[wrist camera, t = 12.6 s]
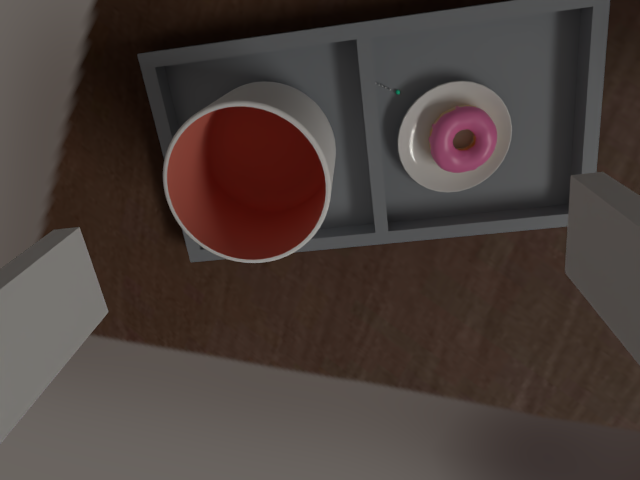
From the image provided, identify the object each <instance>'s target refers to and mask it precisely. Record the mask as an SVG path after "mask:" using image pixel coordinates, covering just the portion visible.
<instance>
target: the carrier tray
mask: <svg viewBox="0 0 640 480" xmlns="http://www.w3.org/2000/svg"><path fill="white" fill-rule="evenodd" d="M609 8H610V0H508V1H501V2H494V3H487V4H480V5H473V6H466V7H459V8H452V9H445V10H438V11H431V12H424V13H417V14H410V15H403V16H396V17H389V18H382V19H375V20H368V21H361V22H354V23H347V24H340V25H333V26H326V27H319V28H312V29H305V30H298V31H291V32H284V33H277V34H270V35H263V36H256V37H249V38H242V39H235V40H228V41H221V42H214V43H207V44H200V45H193V46H186V47H179V48H172V49H165V50H158V51H151V52H146V53H141V54H137V56H138V60H139V64H140V67H141V71H142V75H143V79H144V83H145V87H146V91H147V95H148V98H149V102H150V106H151V110H152V114H153V118H154V122H155V126H156V130H157V133H158V137H159V141H160V145H161V149H162V153H163V157H164V160H165V156H166V152H167V150H168V147H169V144H170V142H171V141H172V139H173V137H174V135H175V134H176V132H177V131H178V130H179V128H180V127H181V126H182V125H183V124H184V123H185V122H186V121H187V120H188V119H189V118H190V117H192V116H193V115H194V114H196V113H197V112H199V111H200V110H202V109H204V108H205V107H207V106H208V105H210V104H211V103H213V102H214V101H216V100H217V99H219V98H221V97H222V96H224V95H225V94H227V93H228V92H230V91H232V90H233V89H235V88H237V87H240V86H242V85H245V84H249V83H253V82H262V81H263V82H276V83H281V84H285V85H288V86H291V87H293V88H295V89H297V90H299V91H301V92H303V93H304V94H306V95H307V96H308V97H309V98H311V99H312V100H313V101H314V102H315V103H316V104H317V105H318V106H319V107H320V109H321V110H322V111H323V113H324V114H325V116H326V117H327V119H328V121H329V123H330V126H331V128H332V131H333V134H334V139H335V145H336V158H335V167H334V174H333V182H332V190H331V198H330V203H329V208H328V211H327V214H326V216H325V219H324V221H323V223H322V225H321V226H320V228H319V229H318V231H317V232H316V234H315V235H314V236H313V237H312V238H311V239H310V240H309V241H308V242H307V243H306V244H305V245H304V246H303V247H301V248H300V249H298V250H297V251H295V252H304V251H314V250H325V249H335V248H346V247H356V246H366V245H377V244H387V243H398V242H408V241H419V240H429V239H440V238H450V237H461V236H471V235H482V234H492V233H502V232H513V231H523V230H534V229H544V228H555V227H565V226H568V212H569V196H570V179H571V175H577V174H587V173H596V170H597V158H598V145H599V133H600V120H601V108H602V95H603V83H604V70H605V58H606V45H607V33H608V21H609ZM453 81H470V82H475V83H478V84H481V85H484V86H486V87H488V88H489V89H491V90H493V91H494V92H495V93H496V94H497V95H498V96H499V97H500V98H501V99H502V101H503V102H504V104H505V105H506V107H507V109H508V112H509V115H510V117H511V124H512V136H511V142H510V146H509V149H508V152H507V154H506V156H505V158H504V160H503V162H502V163H501V164H500V166H499V167H498V168H497V170H496V171H495V172H494V173H493V174H492V175H491V176H490V177H488V178H487V179H486V180H484V181H483V182H481V183H480V184H478V185H476V186H474V187H472V188H470V189H466V190H462V191H459V192H437V191H434V190H430V189H427V188H425V187H423V186H422V185H420V184H418V183H417V182H416V181H414V180H413V179H412V178H411V177H410V176H409V174H408V173H407V172H406V171H405V169H404V167H403V165H402V163H401V161H400V157H399V153H398V134H399V128H400V126H401V123H402V120H403V118H404V116H405V114H406V113H407V111H408V109H409V108H410V107H411V106H412V104H413V103H414V102H415V101H416V100H417V99H418V98H419V97H420V96H422V95H423V94H424V93H425V92H427V91H428V90H430V89H432V88H434V87H436V86H438V85H441V84H444V83H448V82H453ZM375 82H376V83H375ZM379 84H380V85H379ZM382 85H383V87H382ZM385 87H386V88H385ZM389 88H390V89H391V90H389ZM396 90H400V94H396ZM182 231H183V234H184V238H185V242H186V246H187V250H188V254H189V258H190V262H199V261H210V260H220V259H226V258H223V257H220V256H218V255H215V254H213V253H211V252H210V251H208V250H206V249H204V248H203V247H202V246H200V245H199V244H198V243H196V242H195V241H194V240H193V239H191V238H190V237H189V236H188V235H187V234H186V233H185V231H184V230H183V229H182Z"/></svg>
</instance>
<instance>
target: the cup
mask: <svg viewBox="0 0 640 480" xmlns="http://www.w3.org/2000/svg"><path fill="white" fill-rule="evenodd" d="M335 158H336V145H335V139H334V134H333V131H332V128H331V126H330V123H329V121H328V119H327V117H326V116H325V114H324V113H323V111H322V110H321V109H320V107H319V106H318V105H317V104H316V103H315V102H314V101H313V100H312V99H311V98H309V97H308V96H307V95H306V94H304V93H303V92H301V91H299V90H297V89H295V88H293V87H291V86H288V85H285V84H281V83H276V82H263V81H262V82H253V83H249V84H245V85H242V86H240V87H237V88H235V89H233V90H232V91H230V92H228V93H227V94H225V95H224V96H222V97H221V98H219V99H217V100H216V101H214V102H213V103H211V104H210V105H208V106H207V107H205V108H204V109H202V110H200V111H199V112H197V113H196V114H194V115H193V116H192V117H190V118H189V119H188V120H187V121H186V122H185V123H184V124H183V125H182V126H181V127H180V128H179V130H178V131H177V132H176V134H175V135H174V137H173V139H172V141H171V142H170V144H169V147H168V150H167V152H166V156H165V160H164V166H163V185H164V191H165V196H166V199H167V202H168V205H169V208H170V210H171V212H172V214H173V216H174V217H175V219H176V221H177V222H178V224H179V225H180V226H181V228H182V229H183V230H184V231H185V233H186V234H187V235H188V236H189V237H190V238H191V239H193V240H194V241H195V242H196V243H198V244H199V245H200V246H202V247H203V248H204V249H206V250H208V251H210V252H211V253H213V254H215V255H218V256H220V257H223V258H226V259H229V260H233V261H237V262H244V263H262V262H269V261H274V260H277V259H280V258H283V257H285V256H288V255H290V254H292V253H294V252H295V251H297V250H298V249H300V248H301V247H303V246H304V245H305V244H306V243H307V242H308V241H309V240H310V239H311V238H312V237H313V236H314V235H315V234H316V232H317V231H318V229H319V228H320V226H321V225H322V223H323V221H324V219H325V216H326V214H327V211H328V208H329V203H330V198H331V190H332V182H333V174H334V167H335Z"/></svg>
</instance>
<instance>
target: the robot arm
mask: <svg viewBox="0 0 640 480" xmlns="http://www.w3.org/2000/svg"><path fill="white" fill-rule="evenodd" d="M565 273H566V275H567V276H568V277H569V278H570V280H571V281H572V282H573V283H574V284H575V286H576V287H577V288H578V289H579V291H580V292H581V293H582V294H583V296H584V297H585V298H586V299H587V301H588V302H589V303H590V304H591V306H592V307H593V308H594V309H595V311H596V312H597V313H598V314H599V316H600V317H601V318H602V319H603V321H604V322H605V323H606V324H607V325H608V327H609V328H610V329H611V330H612V332H613V333H614V334H615V335H616V337H617V338H618V339H619V340H620V342H621V343H622V344H623V345H624V347H625V348H626V349H627V350H628V352H629V353H630V354H631V355H632V357H633V358H634V359H635V360H636V362H637V363H638V364H639V365H640V196H639V195H638V194H636V193H635V192H633V191H632V190H630V189H629V188H627V187H625V186H624V185H622V184H621V183H619V182H618V181H616V180H615V179H613V178H612V177H610V176H608V175H607V174H605V173H604V172H596V173H587V174H577V175H571V179H570V196H569V212H568V229H567V245H566V262H565ZM107 313H108V309H107V306H106V303H105V300H104V297H103V295H102V292H101V289H100V286H99V283H98V280H97V277H96V274H95V271H94V268H93V265H92V262H91V259H90V256H89V254H88V251H87V248H86V245H85V242H84V239H83V236H82V233H81V230H80V227H76V228H67V229H57V230H53V231H52V232H50V233H49V234H47V235H46V236H45V237H43V238H42V239H41V240H39V241H38V242H36V243H35V244H34V245H32V246H31V247H30V248H28V249H27V250H25V251H24V252H23V253H21V254H20V255H19V256H18V257H16V258H15V259H13V260H12V261H10V262H9V263H8V264H6V265H5V266H4V267H2V268H1V269H0V444H1V443H2V441H3V440H4V439H5V438H6V436H7V435H8V434H9V433H10V432H11V430H12V429H13V428H14V427H15V425H16V424H17V423H18V422H19V421H20V419H21V418H22V417H23V416H24V414H25V413H26V412H27V411H28V410H29V408H30V407H31V406H32V405H33V403H34V402H35V401H36V400H37V399H38V397H39V396H40V395H41V394H42V392H43V391H44V390H45V389H46V388H47V386H48V385H49V384H50V382H51V381H52V380H53V379H54V378H55V376H56V375H57V374H58V373H59V372H60V370H61V369H62V368H63V367H64V366H65V364H66V363H67V362H68V361H69V359H70V358H71V357H72V356H73V355H74V353H75V352H76V351H77V350H78V348H79V347H80V346H81V345H82V344H83V342H84V341H85V340H86V339H87V337H88V336H89V335H90V334H91V333H92V331H93V330H94V329H95V328H96V326H97V325H98V324H99V323H100V322H101V320H102V319H103V318H104V317H105V315H106V314H107Z"/></svg>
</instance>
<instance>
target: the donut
mask: <svg viewBox="0 0 640 480" xmlns="http://www.w3.org/2000/svg"><path fill="white" fill-rule="evenodd" d="M375 83H376V82H375ZM379 85H380V84H379ZM382 87H383V85H382ZM385 88H386V87H385ZM389 90H391V89H390V88H389ZM396 94H400V90H396ZM511 136H512V124H511V117H510V115H509V112H508V109H507V107H506V105H505V104H504V102H503V101H502V99H501V98H500V97H499V96H498V95H497V94H496V93H495V92H494V91H493V90H491V89H489V88H488V87H486V86H484V85H481V84H478V83H475V82H470V81H453V82H448V83H444V84H441V85H438V86H436V87H434V88H432V89H430V90H428V91H427V92H425V93H424V94H423V95H422V96H420V97H419V98H418V99H417V100H416V101H415V102H414V103H413V104H412V106H411V107H410V108H409V109H408V111H407V113H406V114H405V116H404V118H403V120H402V123H401V126H400V128H399V134H398V153H399V157H400V161H401V163H402V165H403V167H404V169H405V171H406V172H407V173H408V174H409V176H410V177H411V178H412V179H413V180H414V181H416V182H417V183H418V184H420V185H422V186H423V187H425V188H427V189H430V190H434V191H437V192H459V191H462V190H466V189H470V188H472V187H474V186H476V185H478V184H480V183H481V182H483V181H484V180H486V179H487V178H488V177H490V176H491V175H492V174H493V173H494V172H495V171H496V170H497V168H498V167H499V166H500V164H501V163H502V162H503V160H504V158H505V156H506V154H507V152H508V149H509V146H510V142H511Z"/></svg>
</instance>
